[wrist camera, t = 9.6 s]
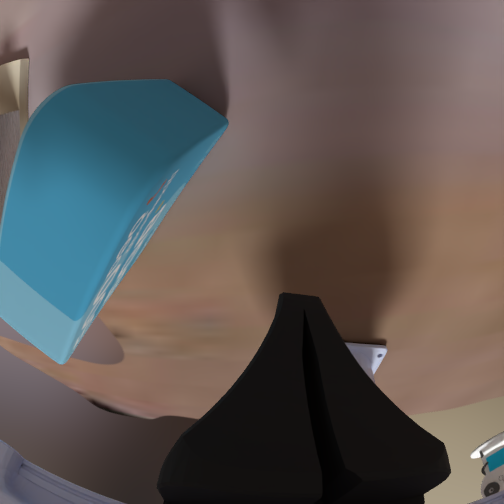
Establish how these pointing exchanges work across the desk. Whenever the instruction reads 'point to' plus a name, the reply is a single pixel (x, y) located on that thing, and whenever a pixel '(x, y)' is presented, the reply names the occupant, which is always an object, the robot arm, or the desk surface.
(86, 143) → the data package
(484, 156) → the desk surface
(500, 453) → the panda figurine
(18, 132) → the bookend
